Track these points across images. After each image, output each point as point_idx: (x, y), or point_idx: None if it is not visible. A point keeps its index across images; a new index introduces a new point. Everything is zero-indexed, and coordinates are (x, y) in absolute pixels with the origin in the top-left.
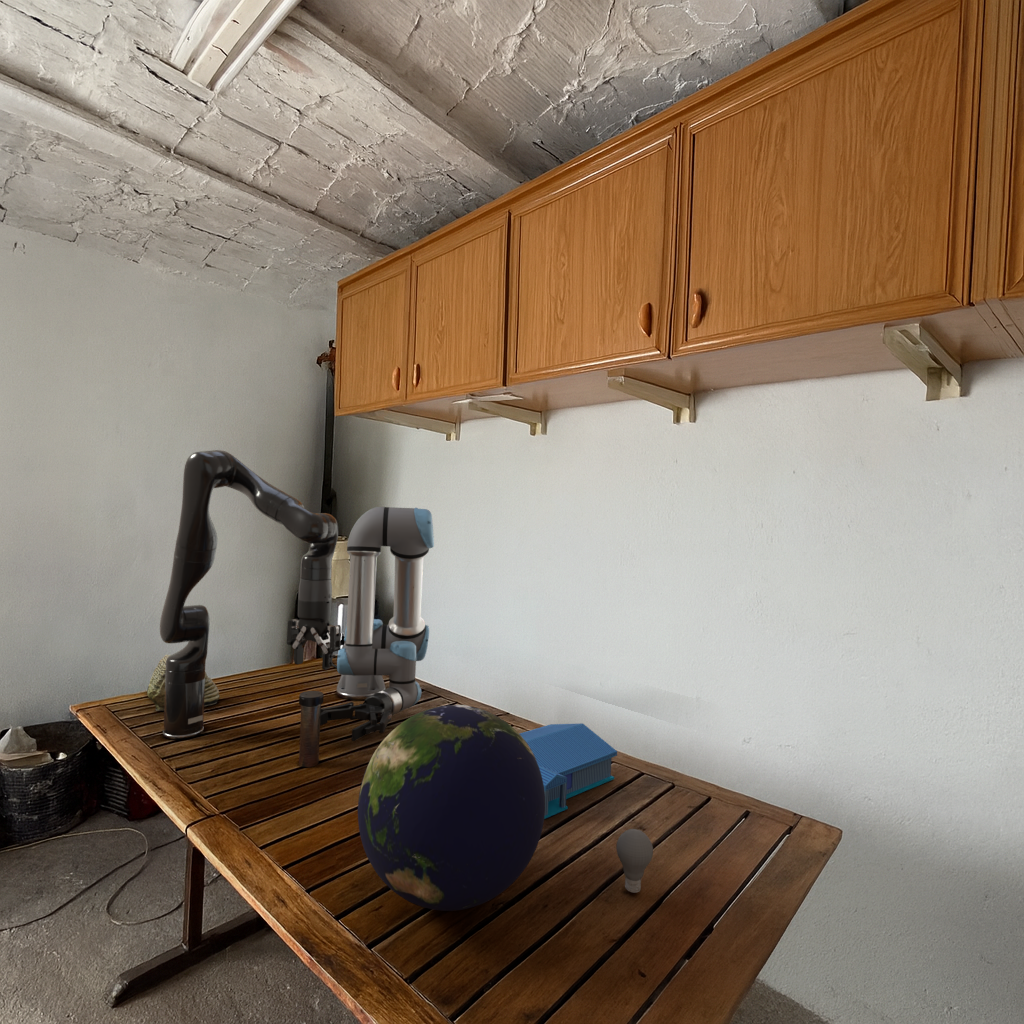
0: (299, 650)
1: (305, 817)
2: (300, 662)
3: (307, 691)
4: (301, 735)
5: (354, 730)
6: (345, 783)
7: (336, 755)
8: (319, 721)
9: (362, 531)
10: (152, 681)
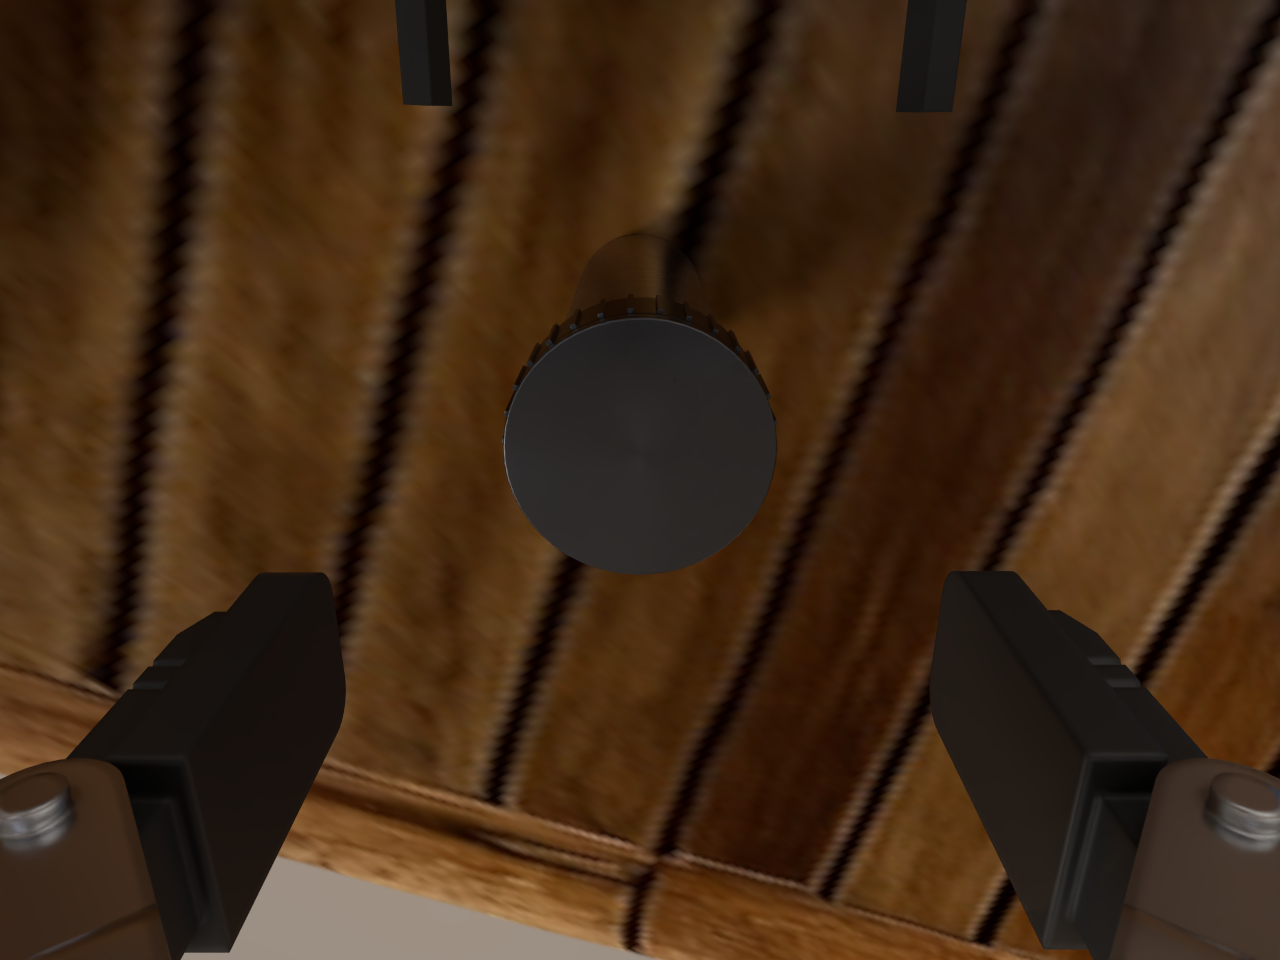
0: (230, 853)
1: None
2: (328, 636)
3: (527, 400)
4: None
5: (947, 110)
6: (1006, 411)
7: (718, 94)
8: None
9: None
10: None
